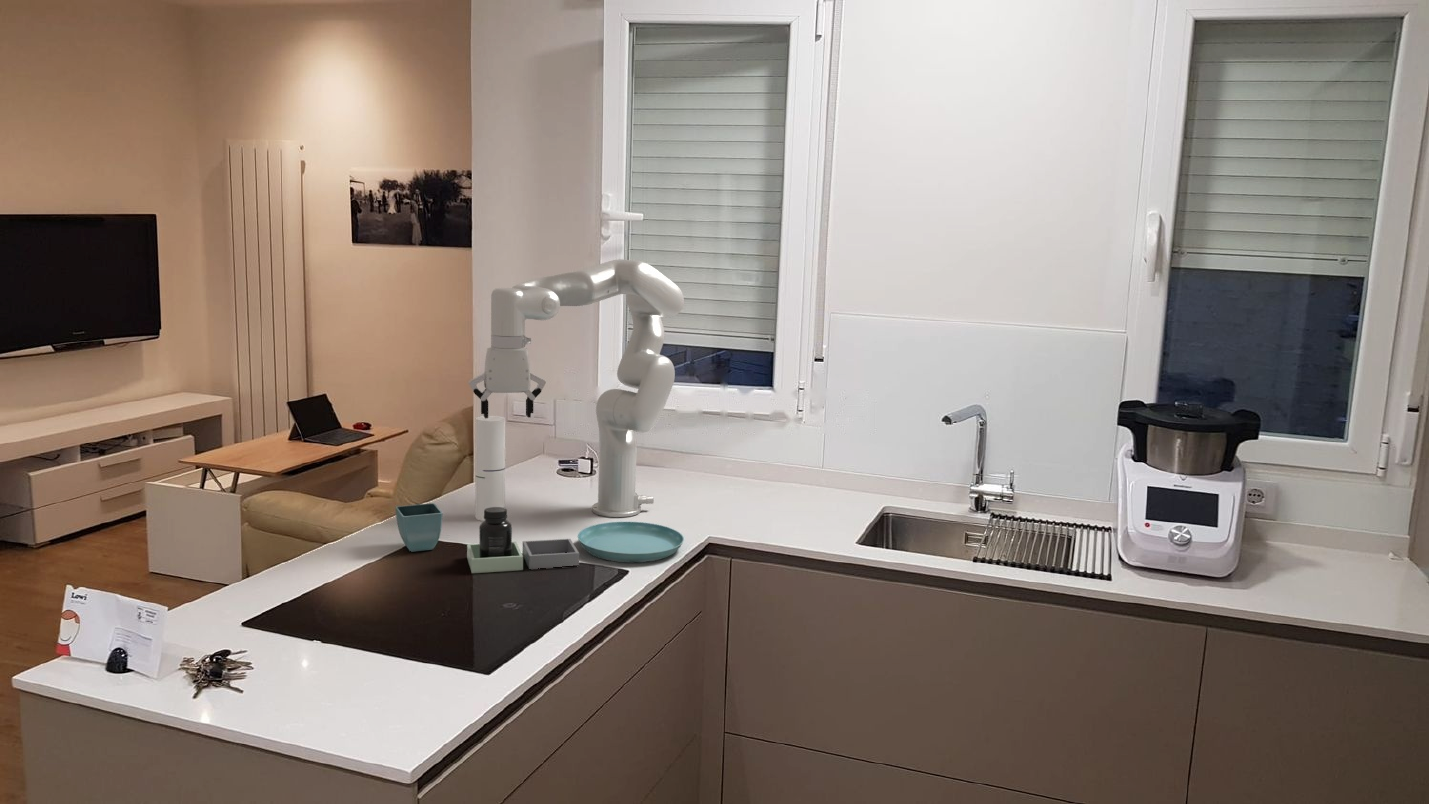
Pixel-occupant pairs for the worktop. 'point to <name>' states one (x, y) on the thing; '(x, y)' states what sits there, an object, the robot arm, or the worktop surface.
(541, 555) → the grey bin
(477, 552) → the green bin
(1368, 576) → the worktop surface
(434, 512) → the flower pot
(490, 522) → the supplement bottle
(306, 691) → the worktop surface
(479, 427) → the cylindrical container
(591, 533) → the teal plate
